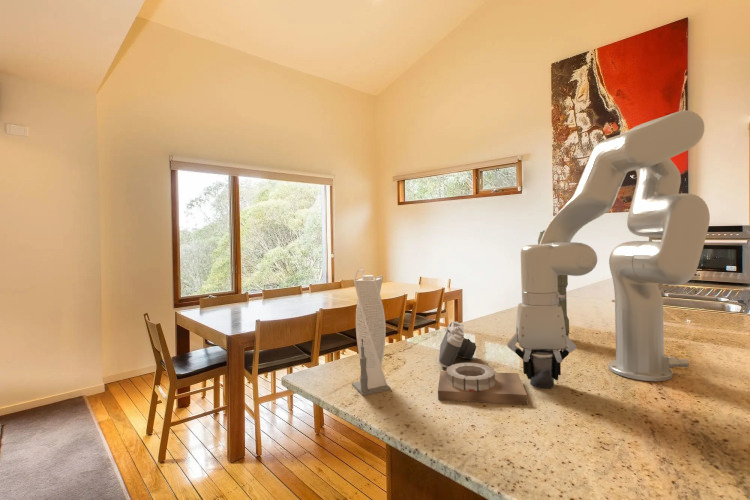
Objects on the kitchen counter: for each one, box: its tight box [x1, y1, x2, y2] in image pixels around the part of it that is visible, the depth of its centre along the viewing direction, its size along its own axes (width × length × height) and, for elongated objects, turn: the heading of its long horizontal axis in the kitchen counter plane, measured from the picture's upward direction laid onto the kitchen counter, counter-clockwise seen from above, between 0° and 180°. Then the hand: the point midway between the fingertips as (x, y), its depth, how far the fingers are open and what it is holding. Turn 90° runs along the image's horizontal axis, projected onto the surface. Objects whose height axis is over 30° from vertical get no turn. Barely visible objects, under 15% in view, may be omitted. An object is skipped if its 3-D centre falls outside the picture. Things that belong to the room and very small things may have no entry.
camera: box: [437, 320, 477, 369], centre depth 105 cm, size 9×16×10 cm, turn 170°
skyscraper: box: [351, 267, 392, 396], centre depth 89 cm, size 8×8×28 cm
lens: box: [529, 349, 555, 390], centre depth 86 cm, size 5×5×8 cm
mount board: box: [437, 362, 528, 405], centre depth 84 cm, size 18×12×4 cm, turn 77°
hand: (541, 376), depth 86 cm, fingers closed on lens, 5 cm apart
